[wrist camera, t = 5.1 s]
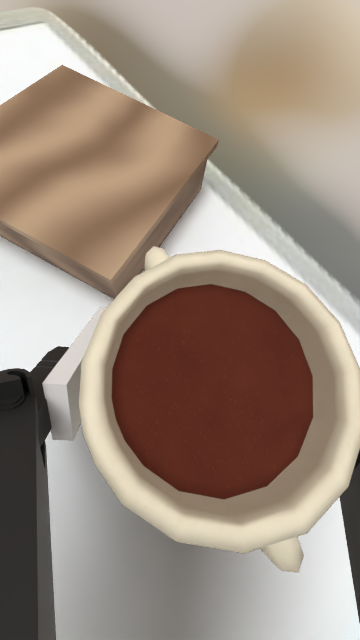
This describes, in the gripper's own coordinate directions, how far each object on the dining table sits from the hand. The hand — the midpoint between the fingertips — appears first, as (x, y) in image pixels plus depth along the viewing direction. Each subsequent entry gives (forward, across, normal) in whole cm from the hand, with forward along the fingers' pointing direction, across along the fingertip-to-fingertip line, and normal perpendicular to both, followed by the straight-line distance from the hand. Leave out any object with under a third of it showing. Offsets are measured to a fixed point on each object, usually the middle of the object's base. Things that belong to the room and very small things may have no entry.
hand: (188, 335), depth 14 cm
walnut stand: (+14, -9, +7) cm, 18 cm away
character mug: (+1, 0, -6) cm, 6 cm away
